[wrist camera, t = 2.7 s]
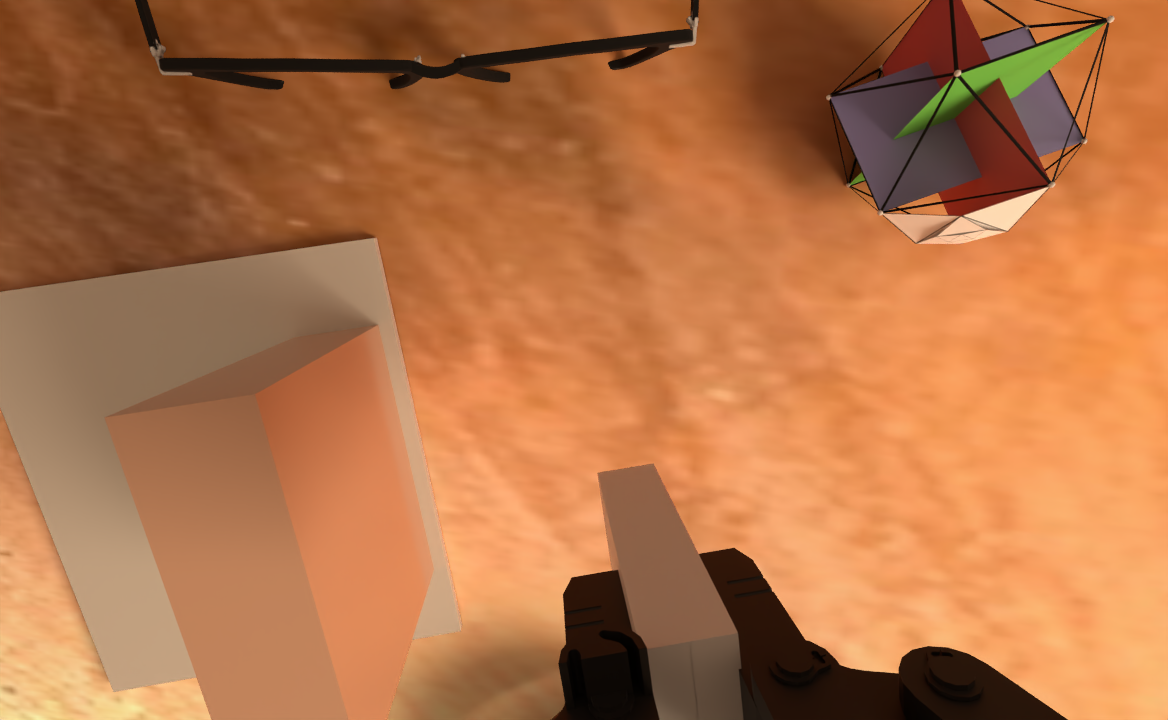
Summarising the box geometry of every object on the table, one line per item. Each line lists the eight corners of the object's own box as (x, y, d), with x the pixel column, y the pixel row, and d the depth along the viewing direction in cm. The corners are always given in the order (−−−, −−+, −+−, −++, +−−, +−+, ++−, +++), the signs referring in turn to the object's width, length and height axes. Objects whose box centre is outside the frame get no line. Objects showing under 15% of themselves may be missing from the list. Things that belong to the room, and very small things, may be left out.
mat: (-32, 296, 19) (-44, 297, 19) (376, 238, 20) (373, 237, 20) (120, 684, 23) (113, 691, 23) (462, 624, 24) (460, 631, 23)
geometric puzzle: (797, -12, 17) (976, 101, 12) (1006, -86, 17) (1271, -3, 12) (783, 182, 23) (903, 315, 18) (942, 127, 23) (1107, 244, 18)
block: (292, 337, 20) (102, 418, 11) (378, 324, 20) (255, 394, 11) (357, 582, 22) (240, 806, 14) (434, 569, 23) (366, 783, 14)
